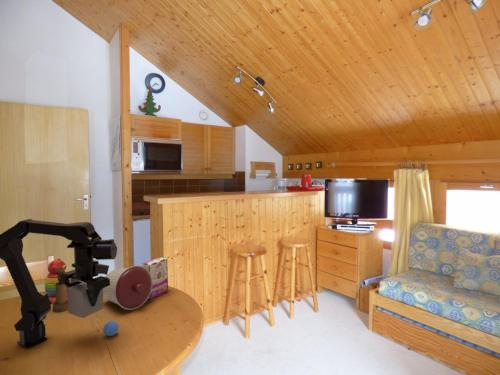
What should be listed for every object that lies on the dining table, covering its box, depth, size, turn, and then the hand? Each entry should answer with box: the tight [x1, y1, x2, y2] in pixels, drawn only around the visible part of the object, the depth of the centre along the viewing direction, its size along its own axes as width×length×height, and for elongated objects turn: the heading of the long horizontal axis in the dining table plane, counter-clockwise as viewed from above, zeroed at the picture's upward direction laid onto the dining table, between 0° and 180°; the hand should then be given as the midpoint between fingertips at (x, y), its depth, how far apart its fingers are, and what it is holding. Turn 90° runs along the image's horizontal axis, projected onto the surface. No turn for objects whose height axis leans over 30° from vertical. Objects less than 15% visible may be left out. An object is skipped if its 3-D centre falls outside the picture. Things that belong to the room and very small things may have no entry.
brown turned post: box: [52, 267, 68, 313], centre depth 129 cm, size 7×6×18 cm
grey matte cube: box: [67, 282, 104, 319], centre depth 106 cm, size 8×8×9 cm
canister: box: [103, 265, 152, 311], centre depth 134 cm, size 18×18×21 cm
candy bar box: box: [142, 256, 169, 300], centre depth 144 cm, size 11×5×16 cm, turn 148°
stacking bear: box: [44, 258, 68, 304], centre depth 139 cm, size 11×10×18 cm
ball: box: [102, 320, 119, 337], centre depth 110 cm, size 5×5×5 cm
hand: (85, 303), depth 106 cm, fingers closed on grey matte cube, 8 cm apart
